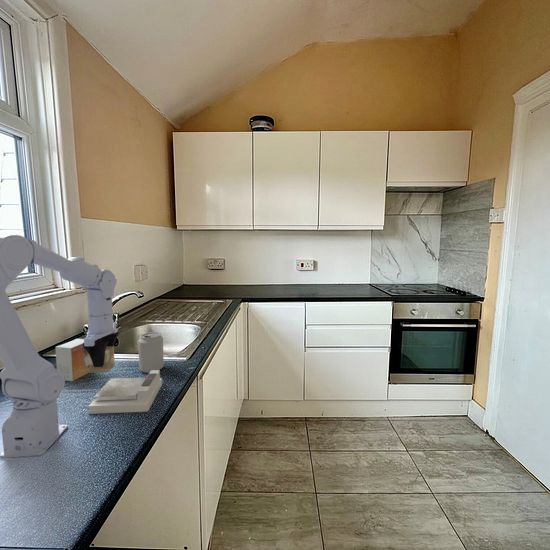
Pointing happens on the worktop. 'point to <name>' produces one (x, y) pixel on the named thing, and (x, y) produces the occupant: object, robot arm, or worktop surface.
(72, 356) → the small box
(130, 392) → the pan
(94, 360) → the robot arm
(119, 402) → the scale base
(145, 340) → the can
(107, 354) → the beech block
